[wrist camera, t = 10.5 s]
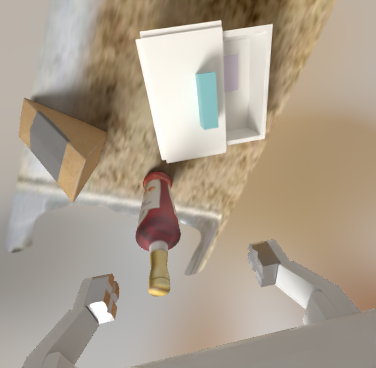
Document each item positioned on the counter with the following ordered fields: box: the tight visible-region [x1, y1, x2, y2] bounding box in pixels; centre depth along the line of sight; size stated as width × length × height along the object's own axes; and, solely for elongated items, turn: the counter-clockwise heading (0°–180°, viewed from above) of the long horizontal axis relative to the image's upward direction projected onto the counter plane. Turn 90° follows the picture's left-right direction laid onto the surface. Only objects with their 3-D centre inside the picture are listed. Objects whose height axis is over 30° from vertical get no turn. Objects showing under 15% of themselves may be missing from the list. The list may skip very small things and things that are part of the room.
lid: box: [136, 20, 226, 163], centre depth 32 cm, size 20×13×6 cm, turn 7°
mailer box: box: [222, 24, 273, 145], centre depth 37 cm, size 18×11×7 cm, turn 7°
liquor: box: [136, 172, 181, 296], centre depth 36 cm, size 7×7×28 cm
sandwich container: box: [19, 98, 107, 202], centre depth 33 cm, size 9×15×15 cm, turn 62°
